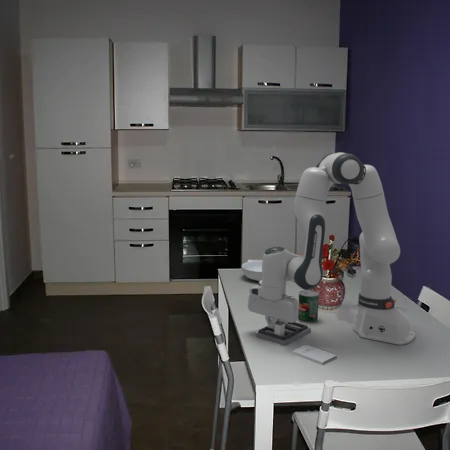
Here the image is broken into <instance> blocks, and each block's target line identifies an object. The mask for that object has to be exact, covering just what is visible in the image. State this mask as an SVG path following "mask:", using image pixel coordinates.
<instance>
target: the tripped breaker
mask: <svg viewBox="0 0 450 450" xmlns="http://www.w3.org/2000/svg"><path fill="white" fill-rule="evenodd" d="M284 333H285V322H282V321H278V322H276V323H275V330H274V334H276V335H279V336H283V335H284Z"/></svg>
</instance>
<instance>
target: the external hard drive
mask: <svg viewBox="0 0 450 450" xmlns="http://www.w3.org/2000/svg"><path fill="white" fill-rule="evenodd" d="M292 354H294V355H296V356H297V357H301V358H304V359H306V360H309V361H311V362H314V363H316V364H318V365H322V366H323V365H325V364H328V363H330V362H332V361H333V360H336V359H338V355H336V354H334V353H330V352H328V351H325V350H323V349H319V348H317V347H313V346H311V345H309V344H306V345H303V346H301V347H299V348H296V349H294V350H293V351H292Z"/></svg>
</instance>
